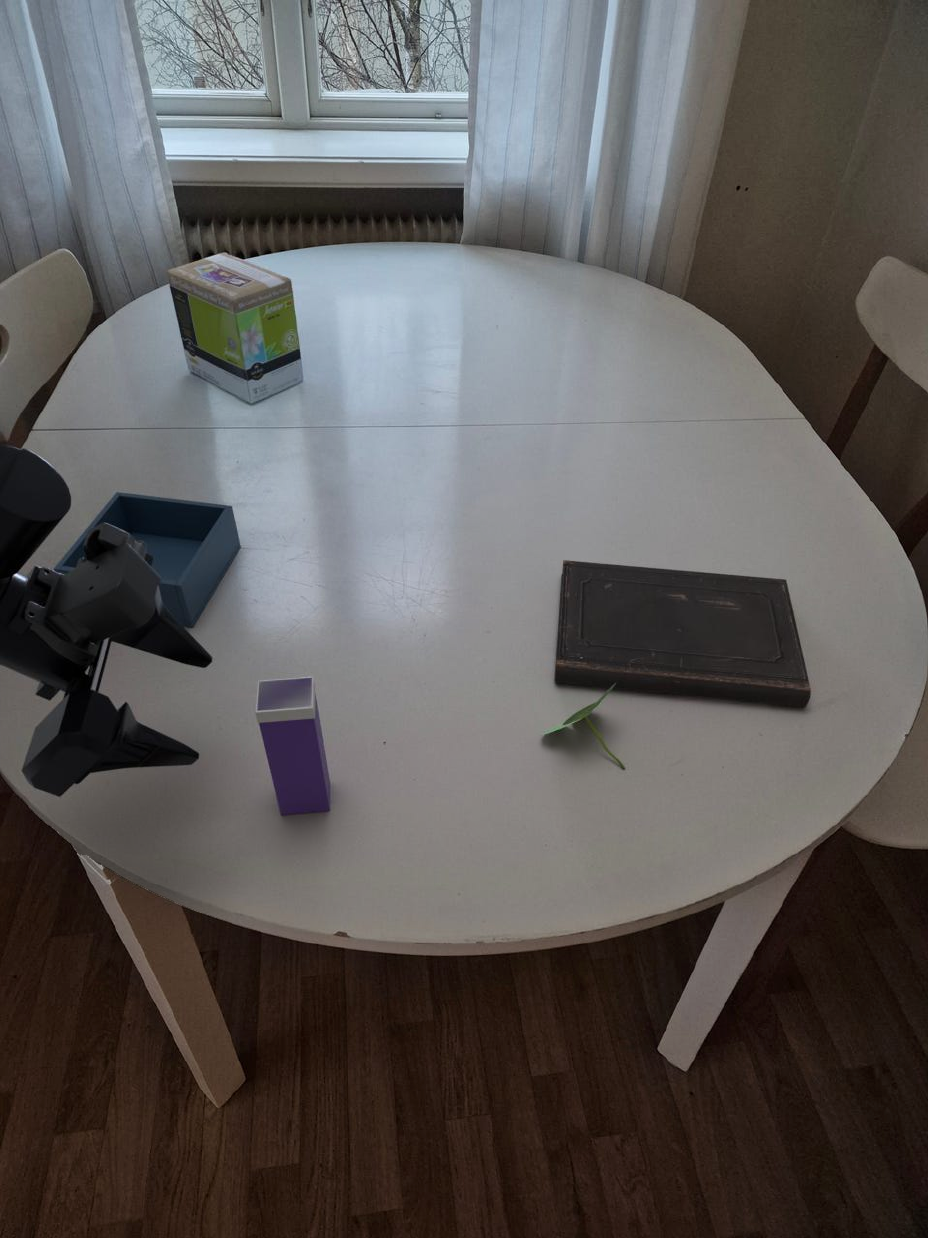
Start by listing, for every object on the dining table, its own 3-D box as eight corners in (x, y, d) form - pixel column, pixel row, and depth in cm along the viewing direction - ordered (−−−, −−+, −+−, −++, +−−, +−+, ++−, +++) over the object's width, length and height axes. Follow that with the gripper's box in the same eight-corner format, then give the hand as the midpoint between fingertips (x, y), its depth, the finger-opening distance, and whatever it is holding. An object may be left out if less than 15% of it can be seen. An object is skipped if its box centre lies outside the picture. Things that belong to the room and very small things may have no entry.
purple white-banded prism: (280, 816, 70) (255, 712, 61) (281, 785, 72) (257, 680, 63) (330, 811, 70) (313, 707, 62) (330, 780, 73) (313, 676, 64)
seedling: (587, 784, 79) (547, 724, 79) (662, 739, 76) (620, 677, 77) (574, 805, 72) (531, 739, 73) (656, 756, 70) (610, 688, 70)
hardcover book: (561, 576, 92) (563, 559, 91) (780, 595, 90) (786, 579, 89) (553, 686, 81) (556, 669, 79) (804, 711, 79) (812, 694, 77)
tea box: (307, 380, 123) (293, 277, 113) (250, 406, 118) (231, 300, 107) (241, 347, 130) (224, 248, 120) (185, 371, 125) (162, 268, 115)
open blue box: (70, 610, 88) (53, 568, 84) (129, 532, 97) (116, 491, 93) (192, 627, 86) (180, 585, 82) (241, 546, 95) (232, 505, 92)
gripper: (10, 641, 44) (263, 756, 52) (85, 444, 57) (276, 561, 66) (-85, 751, 49) (161, 839, 57) (5, 545, 62) (193, 642, 71)
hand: (203, 708), depth 63 cm, fingers open, 9 cm apart
